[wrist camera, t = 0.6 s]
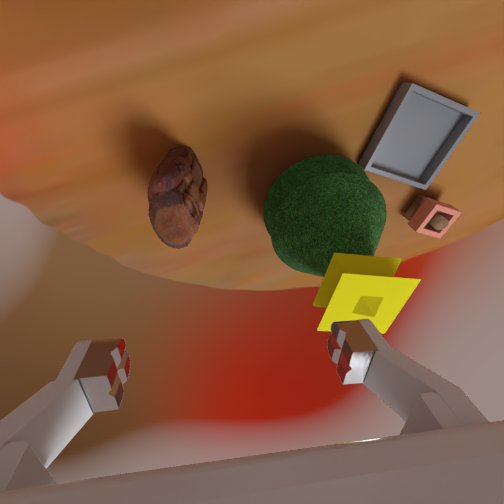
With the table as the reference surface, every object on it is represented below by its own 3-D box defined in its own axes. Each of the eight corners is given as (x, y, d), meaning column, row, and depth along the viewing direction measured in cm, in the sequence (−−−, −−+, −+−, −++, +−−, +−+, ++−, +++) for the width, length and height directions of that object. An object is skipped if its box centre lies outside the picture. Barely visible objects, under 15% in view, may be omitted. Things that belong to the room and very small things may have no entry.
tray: (401, 81, 43) (412, 83, 40) (467, 110, 46) (480, 113, 44) (357, 164, 50) (364, 169, 48) (416, 184, 53) (425, 190, 51)
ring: (426, 197, 52) (436, 204, 49) (451, 205, 53) (461, 212, 51) (407, 224, 55) (416, 231, 53) (430, 230, 56) (440, 238, 54)
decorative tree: (374, 152, 49) (520, 244, 25) (338, 241, 60) (415, 366, 35) (270, 136, 46) (321, 223, 22) (252, 232, 57) (272, 362, 32)
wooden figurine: (214, 202, 52) (209, 258, 38) (182, 210, 53) (165, 268, 38) (193, 139, 45) (178, 178, 31) (157, 148, 46) (125, 190, 31)
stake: (418, 194, 55) (440, 209, 49) (437, 200, 56) (461, 216, 50) (403, 215, 57) (422, 232, 52) (422, 221, 58) (443, 238, 53)
